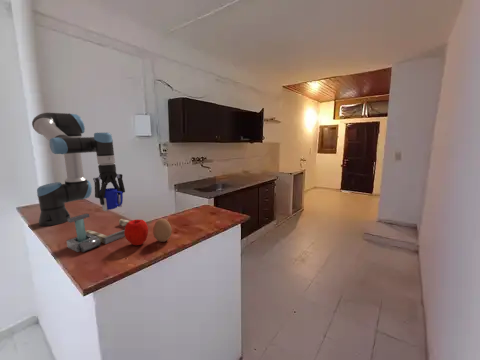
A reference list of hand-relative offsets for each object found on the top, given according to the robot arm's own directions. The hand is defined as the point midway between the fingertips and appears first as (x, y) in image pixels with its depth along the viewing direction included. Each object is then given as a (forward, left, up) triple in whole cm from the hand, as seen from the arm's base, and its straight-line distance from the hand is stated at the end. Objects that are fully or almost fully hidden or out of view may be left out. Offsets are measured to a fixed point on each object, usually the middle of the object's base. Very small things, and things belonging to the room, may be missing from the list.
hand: (112, 208), depth 118 cm
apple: (+22, -3, -14) cm, 26 cm away
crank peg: (+1, -16, -12) cm, 20 cm away
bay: (-1, 0, -13) cm, 13 cm away
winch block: (+2, -16, -13) cm, 21 cm away
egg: (+30, +5, -14) cm, 34 cm away
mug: (0, +1, 0) cm, 1 cm away
